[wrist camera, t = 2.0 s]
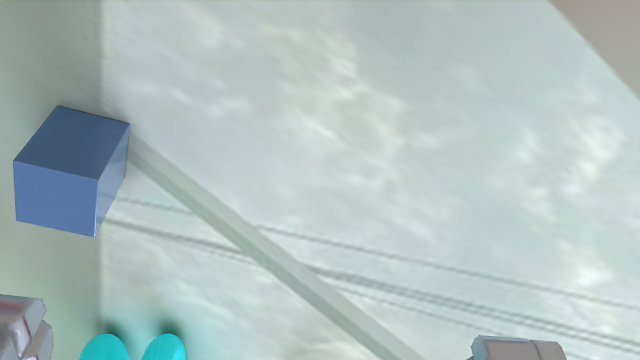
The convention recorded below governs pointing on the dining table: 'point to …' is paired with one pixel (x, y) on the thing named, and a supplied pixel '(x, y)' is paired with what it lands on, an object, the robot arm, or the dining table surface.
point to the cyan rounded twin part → (111, 354)
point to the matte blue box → (70, 171)
